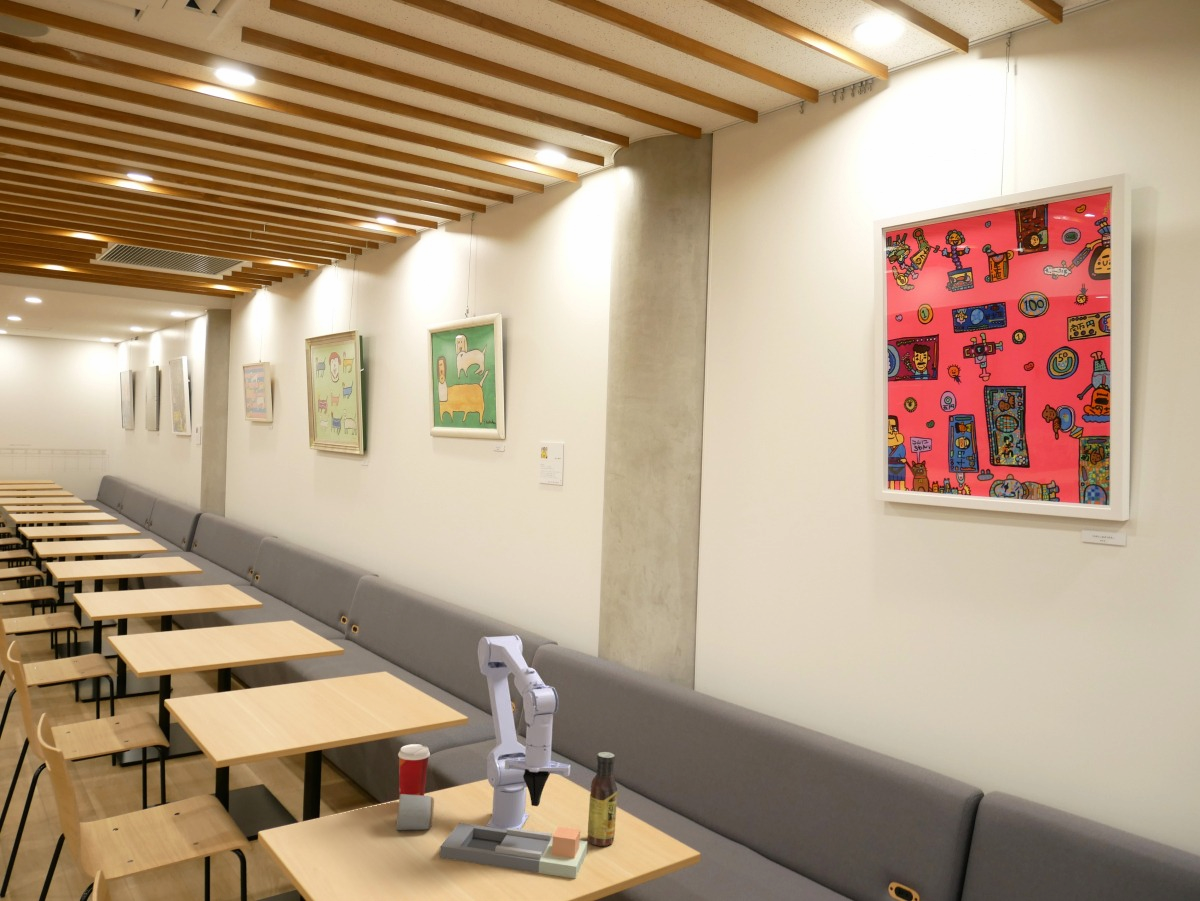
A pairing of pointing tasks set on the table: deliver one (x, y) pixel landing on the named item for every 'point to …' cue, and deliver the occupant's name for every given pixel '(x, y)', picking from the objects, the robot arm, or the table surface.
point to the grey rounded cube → (415, 812)
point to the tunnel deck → (510, 850)
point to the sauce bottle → (603, 802)
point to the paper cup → (413, 769)
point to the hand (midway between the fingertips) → (535, 804)
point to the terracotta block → (566, 842)
